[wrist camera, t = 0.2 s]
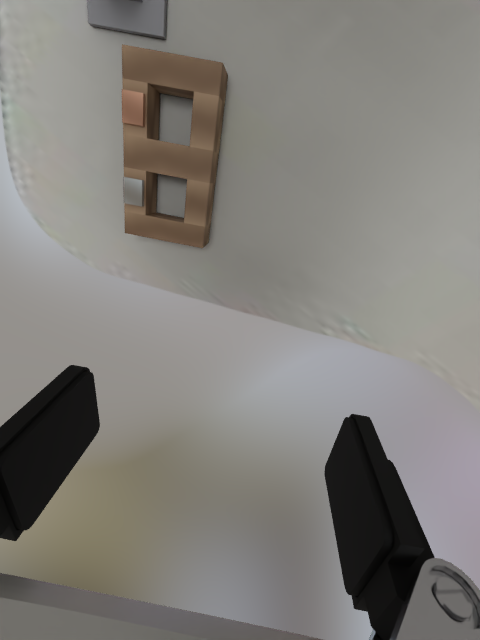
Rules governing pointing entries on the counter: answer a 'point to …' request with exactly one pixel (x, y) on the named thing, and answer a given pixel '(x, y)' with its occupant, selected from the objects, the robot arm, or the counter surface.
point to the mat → (129, 16)
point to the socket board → (168, 158)
